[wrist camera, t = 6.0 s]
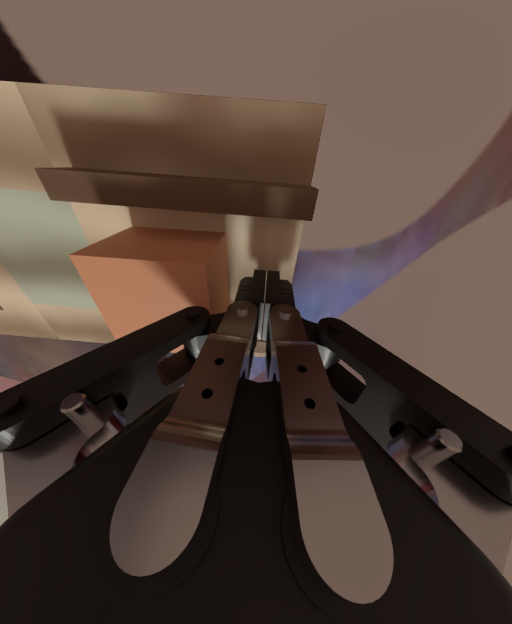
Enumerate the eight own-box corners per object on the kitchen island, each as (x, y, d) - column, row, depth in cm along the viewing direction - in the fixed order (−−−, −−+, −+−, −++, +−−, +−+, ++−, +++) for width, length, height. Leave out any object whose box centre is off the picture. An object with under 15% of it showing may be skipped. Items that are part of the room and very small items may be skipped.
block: (132, 226, 11) (68, 254, 8) (225, 232, 11) (205, 264, 8) (156, 303, 15) (120, 348, 11) (229, 308, 15) (215, 355, 11)
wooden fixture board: (-343, 68, 10) (-667, 17, 7) (315, 116, 10) (340, 89, 6) (-63, 309, 20) (-135, 340, 16) (276, 338, 20) (277, 377, 16)
